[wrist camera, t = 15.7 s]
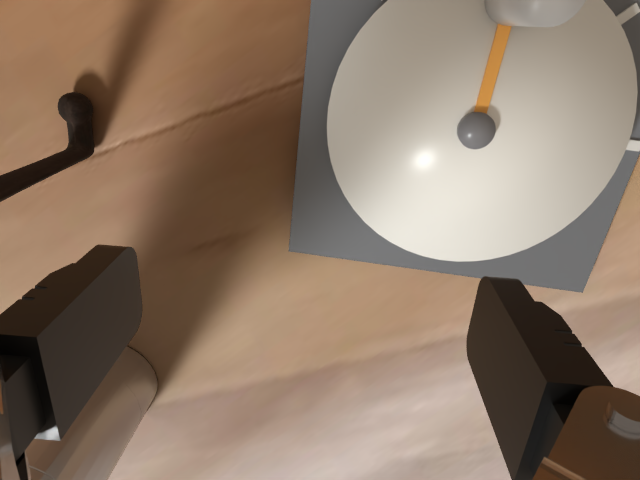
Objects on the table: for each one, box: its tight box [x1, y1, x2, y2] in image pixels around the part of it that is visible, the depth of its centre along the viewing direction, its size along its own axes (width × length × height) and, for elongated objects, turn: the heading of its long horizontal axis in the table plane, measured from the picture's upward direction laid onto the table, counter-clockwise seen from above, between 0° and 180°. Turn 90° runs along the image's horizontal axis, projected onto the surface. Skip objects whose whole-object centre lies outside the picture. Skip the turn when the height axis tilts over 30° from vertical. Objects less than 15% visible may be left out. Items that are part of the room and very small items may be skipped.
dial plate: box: [289, 0, 640, 293], centre depth 34 cm, size 24×24×2 cm
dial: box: [327, 0, 638, 262], centre depth 29 cm, size 20×20×8 cm
